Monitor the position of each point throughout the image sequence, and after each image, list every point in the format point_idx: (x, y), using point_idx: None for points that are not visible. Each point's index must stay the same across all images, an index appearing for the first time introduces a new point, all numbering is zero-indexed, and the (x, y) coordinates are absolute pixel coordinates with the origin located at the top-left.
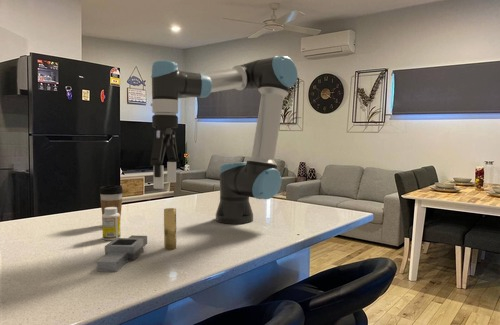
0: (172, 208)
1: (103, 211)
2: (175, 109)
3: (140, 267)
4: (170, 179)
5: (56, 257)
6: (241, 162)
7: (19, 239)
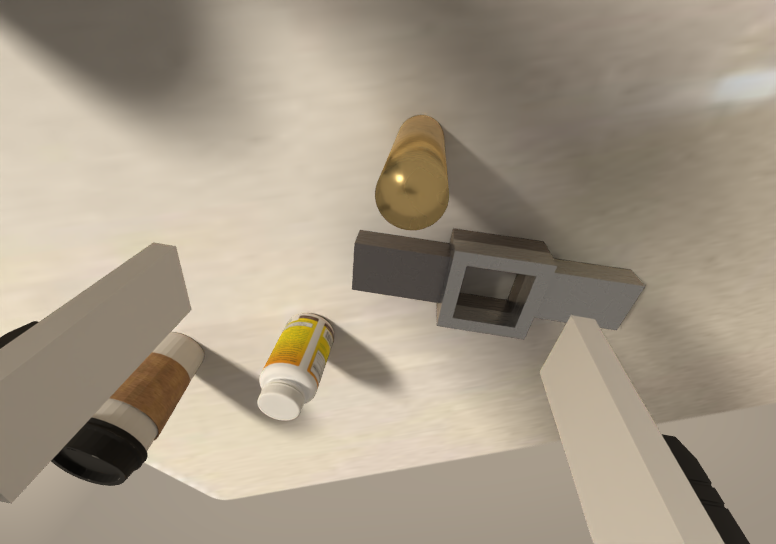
0: (386, 184)
1: (178, 401)
2: None
3: (616, 212)
4: (169, 304)
5: (467, 398)
6: None
7: (335, 465)
